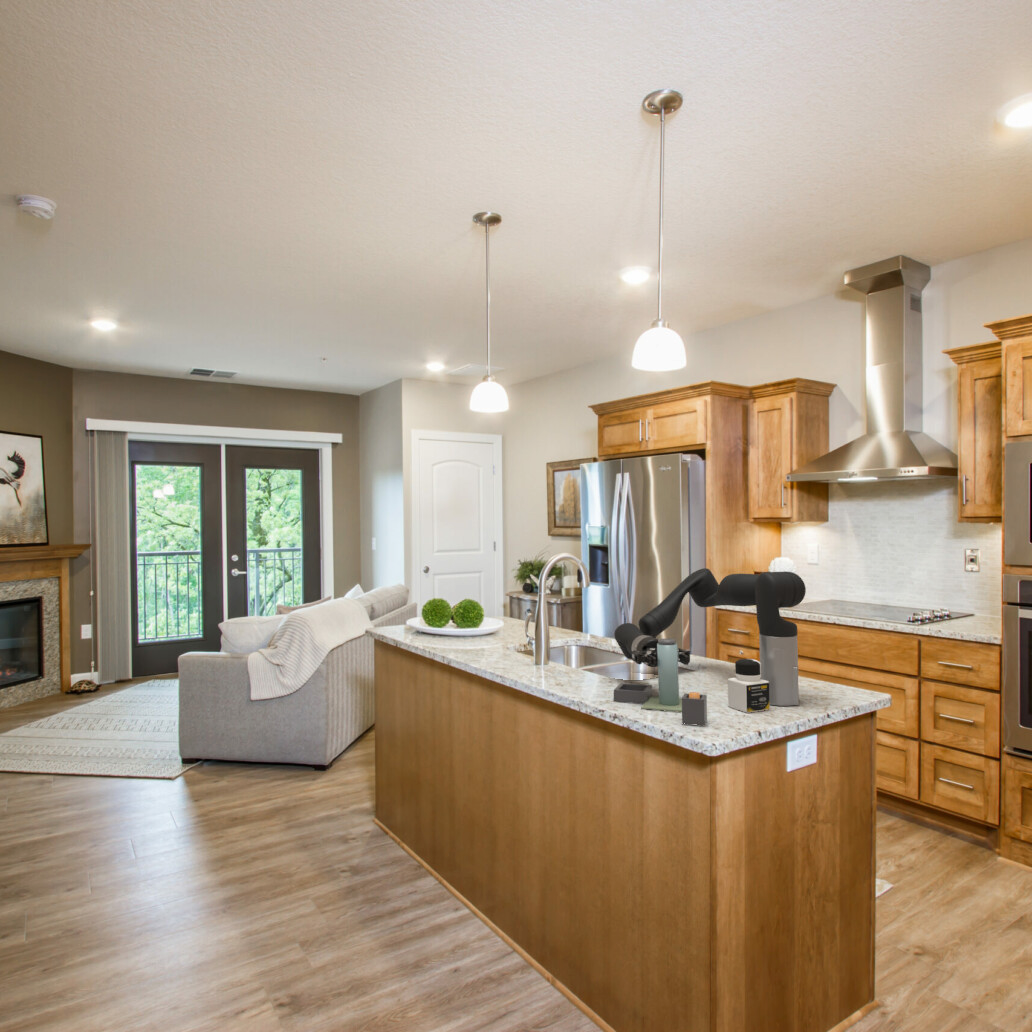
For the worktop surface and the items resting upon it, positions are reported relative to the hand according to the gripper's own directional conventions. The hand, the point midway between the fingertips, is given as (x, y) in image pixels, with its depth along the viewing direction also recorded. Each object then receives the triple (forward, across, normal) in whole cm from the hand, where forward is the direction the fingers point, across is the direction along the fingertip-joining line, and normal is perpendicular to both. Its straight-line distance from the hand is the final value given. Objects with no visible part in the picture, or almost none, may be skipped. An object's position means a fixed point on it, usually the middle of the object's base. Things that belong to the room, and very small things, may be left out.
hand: (670, 661), depth 183 cm
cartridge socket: (-10, +7, -11) cm, 17 cm away
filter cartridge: (-2, 0, -11) cm, 11 cm away
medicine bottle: (+5, -18, -12) cm, 22 cm away
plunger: (+15, 0, -10) cm, 18 cm away
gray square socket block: (+14, 0, -11) cm, 18 cm away
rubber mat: (-2, 0, -11) cm, 12 cm away
